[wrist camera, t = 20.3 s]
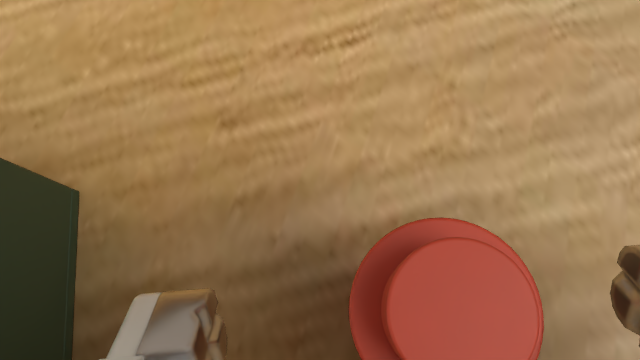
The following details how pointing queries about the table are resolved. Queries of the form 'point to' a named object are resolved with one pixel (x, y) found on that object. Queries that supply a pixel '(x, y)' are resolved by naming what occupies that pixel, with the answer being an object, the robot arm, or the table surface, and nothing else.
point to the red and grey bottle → (444, 296)
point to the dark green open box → (36, 265)
